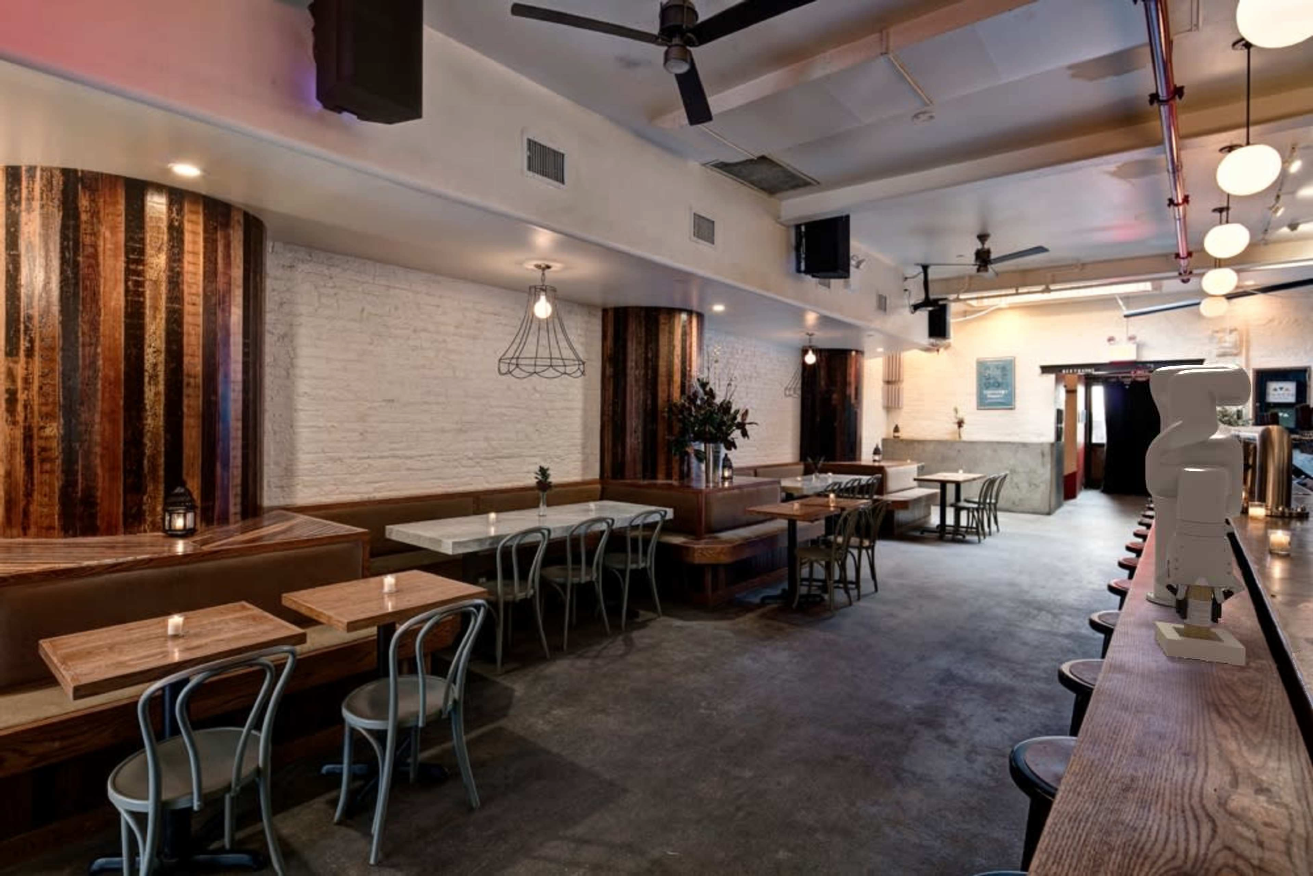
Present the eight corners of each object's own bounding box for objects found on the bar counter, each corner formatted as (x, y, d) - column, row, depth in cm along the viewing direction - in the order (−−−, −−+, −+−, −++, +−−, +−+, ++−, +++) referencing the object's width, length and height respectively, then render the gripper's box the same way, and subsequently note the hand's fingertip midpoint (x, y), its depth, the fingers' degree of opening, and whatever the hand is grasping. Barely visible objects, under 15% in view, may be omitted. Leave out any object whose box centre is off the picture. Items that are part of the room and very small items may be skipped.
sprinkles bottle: (1186, 634, 137) (1187, 569, 136) (1214, 640, 133) (1216, 574, 133) (1180, 639, 134) (1181, 573, 134) (1209, 645, 131) (1210, 577, 130)
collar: (1154, 637, 142) (1154, 621, 142) (1226, 646, 136) (1226, 629, 136) (1166, 655, 131) (1167, 638, 131) (1245, 666, 126) (1245, 648, 126)
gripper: (1248, 529, 132) (1245, 620, 133) (1145, 523, 140) (1143, 609, 141) (1261, 536, 126) (1258, 631, 126) (1152, 529, 134) (1150, 618, 134)
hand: (1197, 618), depth 134 cm, fingers closed on sprinkles bottle, 4 cm apart
